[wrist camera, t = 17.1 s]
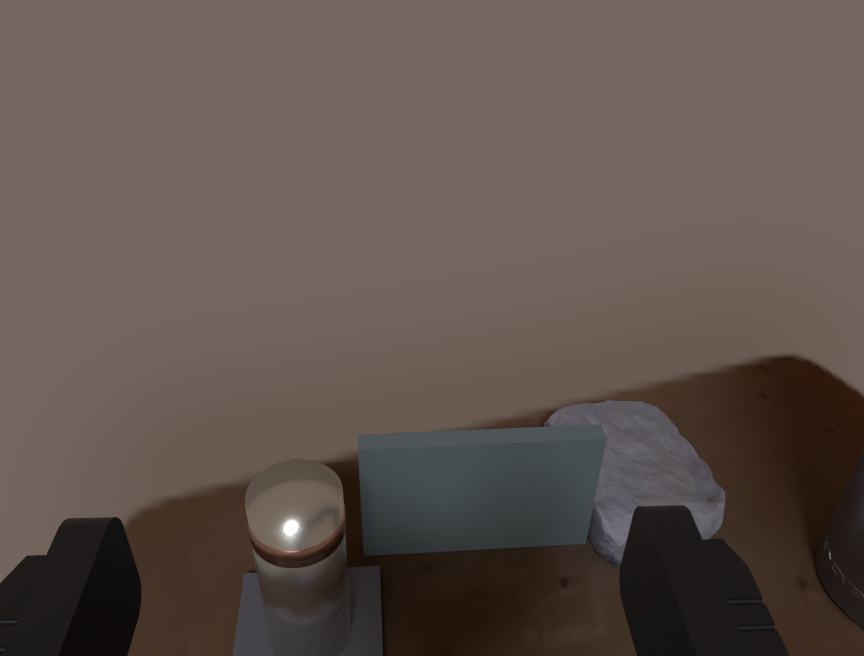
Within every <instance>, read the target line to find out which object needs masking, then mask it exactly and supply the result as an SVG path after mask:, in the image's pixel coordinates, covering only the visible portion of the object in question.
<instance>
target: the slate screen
mask: <svg viewBox="0 0 864 656" xmlns="http://www.w3.org/2000/svg"><path fill="white" fill-rule="evenodd" d="M606 441H607V438H606V435H605V433H604V430H603V427H602V425H601V424H598V425H575V426H552V427H529V428H506V429H483V430H460V431H437V432H414V433H391V434H368V435H358V459H359V478H360V498H361V517H362V537H363V556H377V555H395V554H413V553H430V552H448V551H466V550H484V549H502V548H520V547H538V546H556V545H574V544H586V541H587V536H588V531H589V526H590V521H591V516H592V511H593V506H594V501H595V496H596V491H597V486H598V481H599V476H600V471H601V466H602V461H603V456H604V451H605V446H606Z"/></svg>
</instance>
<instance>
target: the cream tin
mask: <svg viewBox="0 0 864 656" xmlns="http://www.w3.org/2000/svg"><path fill="white" fill-rule="evenodd" d="M245 506H246V512H247V524H248V530H249V536H250V541H251V545H252V547H253V553H254V559H255V565H256V570H257V576H258V582H259V588H260V594H261V600H262V605H263V611H264V617H265V623H266V629H267V635H268V640H269V645H270V648H271V650H272V652H273V653H274V655H275V656H339V654H340V653H341V652H342V651H343V650H344V648H345V647H346V645H347V643H348V641H349V638H350V633H351V620H350V603H349V586H348V568H347V551H346V534H345V532H346V516H345V504H344V500H343V487H342V483H341V481H340V479H339V477H338V476H337V474H336V473H335V472H334V471H333V470H332V469H330V468H329V467H327V466H326V465H324V464H321V463H319V462H316V461H311V460H304V459H300V460H299V459H298V460H288V461H283V462H280V463H277V464H274V465H273V466H270V467H268V468H267V469H265V470H263V471H262V472H261V473H259V474H258V475H257V476H256V477H255V478H254V479H253V481H252V482H251V483H250V485H249V487H248V489H247V492H246V496H245Z"/></svg>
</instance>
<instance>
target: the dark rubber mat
mask: <svg viewBox="0 0 864 656" xmlns="http://www.w3.org/2000/svg"><path fill="white" fill-rule="evenodd" d="M347 568H348V586H349V603H350V620H351V633H350V638H349V641H348V643H347V645H346V647H345V648H344V650H343V651H342V652H341V653H340V654H339V656H383V639H382V609H381V579H380V566H365V567H347ZM233 656H275V655H274V653H273V652H272V650H271V648H270V645H269V640H268V635H267V629H266V623H265V617H264V611H263V605H262V600H261V594H260V588H259V582H258V576H257V573H244V578H243V585H242V592H241V599H240V606H239V613H238V621H237V628H236V635H235V642H234V649H233Z"/></svg>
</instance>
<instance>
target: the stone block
mask: <svg viewBox="0 0 864 656" xmlns="http://www.w3.org/2000/svg"><path fill="white" fill-rule="evenodd" d="M598 424H601V425H602V427H603V430H604V433H605V435H606V438H607V441H606V446H605V451H604V456H603V461H602V466H601V471H600V476H599V481H598V486H597V491H596V496H595V501H594V506H593V511H592V516H591V521H590V526H589V531H588V538H589V540H590V541H591V544H592V545H593V547H594V549H595V551H596V552H597V553H598V554H599V555H600V557H602V558H605V559H606V560H608V561H610V562H611V563H612V564H614V565H617V566H620V565H621V561H622V557H623V553H624V549H625V545H626V541H627V537H628V533H629V529H630V525H631V521H632V517H633V513H634V510H635V509H636V507H638V506H668V505H684V506H686V507H687V508H688V509H689V510H690V512H691V514H692V516H693V518H694V521H695V523H696V525H697V528H698V530H699V532H700V535H701V537H702V540H704V539H710V538H711V537H712V536H713V535H714V534H715V533H716V532H717V531H718V530H719V528H720V526H721V524H722V522H723V516H724V507H725V492H724V490H723V489H722V488H721V487H720V486H719V485H718V484H717V483H715V481H714V479H713V478H712V472H711V470H710V468H709V467H708V465H707V464H706V463H705V461H704V460H702V459H701V458H699V457H698V454H697V453H696V451H695V450H694V448H693V447H692V446H691V445H690V444H689V442H688V441H687V440H686V439H685V438H683V437H682V436H681V435H680V434H679V432H678V429H677V428H676V426H675V425H674V424H673V423H672V422H671V421H670V420H669V419H668V417H667V416H666V415H665V414H664V413H663V412H662V411H660V410H659V409H658V408H657V407H656V406H654V405H651V404H648V403H644V402H641V401H634V402H629V401H612V400H608V401H605V402H600V403H583V404H574V405H569V406H566V407H563V408H561V409H558V410H557V411H556V412H554V413H553V414H552V415H551V416H550V417H549V418H548V420H547V421H546V422H545V423H544V427H552V426H575V425H598Z"/></svg>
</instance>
